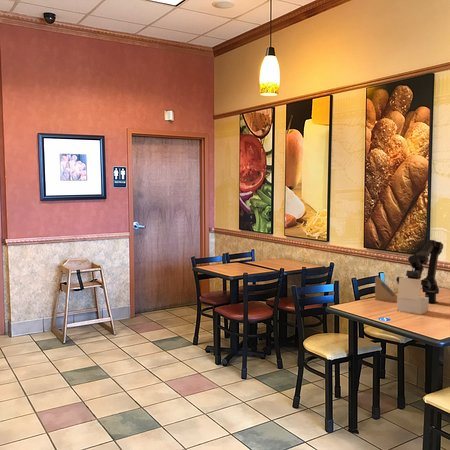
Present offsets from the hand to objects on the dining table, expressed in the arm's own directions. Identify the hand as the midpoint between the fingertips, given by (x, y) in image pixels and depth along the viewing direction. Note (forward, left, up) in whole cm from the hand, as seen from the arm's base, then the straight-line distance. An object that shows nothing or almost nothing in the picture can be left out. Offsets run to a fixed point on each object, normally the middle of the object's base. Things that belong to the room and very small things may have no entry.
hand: (409, 294), depth 285 cm
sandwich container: (-14, -30, -11) cm, 35 cm away
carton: (-5, -2, -11) cm, 12 cm away
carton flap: (0, 0, +4) cm, 4 cm away
